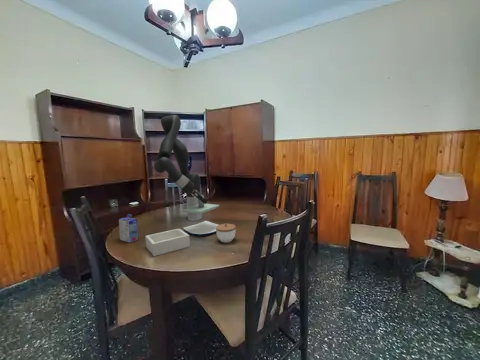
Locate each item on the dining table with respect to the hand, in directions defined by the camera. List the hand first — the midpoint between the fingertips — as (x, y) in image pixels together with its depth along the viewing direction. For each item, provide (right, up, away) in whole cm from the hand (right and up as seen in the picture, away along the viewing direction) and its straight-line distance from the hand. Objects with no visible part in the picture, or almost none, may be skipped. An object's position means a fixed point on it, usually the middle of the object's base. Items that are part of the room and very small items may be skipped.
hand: (205, 202), depth 140 cm
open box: (-16, -21, -23) cm, 34 cm away
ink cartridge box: (-41, -20, -11) cm, 47 cm away
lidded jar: (+14, -19, -16) cm, 29 cm away
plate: (-1, -18, +1) cm, 18 cm away
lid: (-2, -5, -1) cm, 5 cm away
